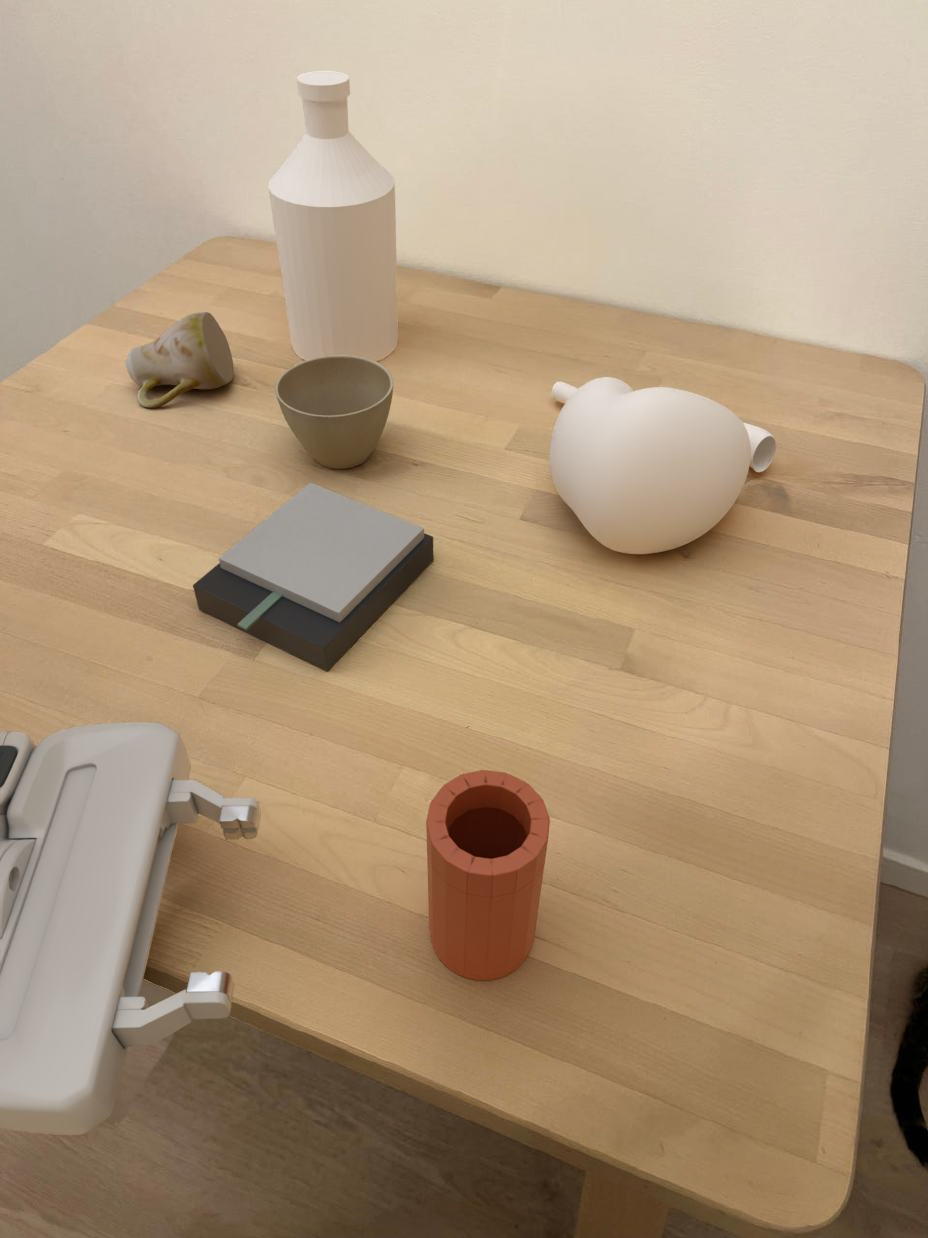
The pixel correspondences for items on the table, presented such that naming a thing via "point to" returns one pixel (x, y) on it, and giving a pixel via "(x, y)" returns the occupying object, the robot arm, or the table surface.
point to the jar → (485, 872)
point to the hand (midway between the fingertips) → (245, 900)
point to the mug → (182, 359)
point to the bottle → (335, 232)
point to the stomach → (650, 462)
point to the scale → (315, 574)
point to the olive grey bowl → (336, 407)
